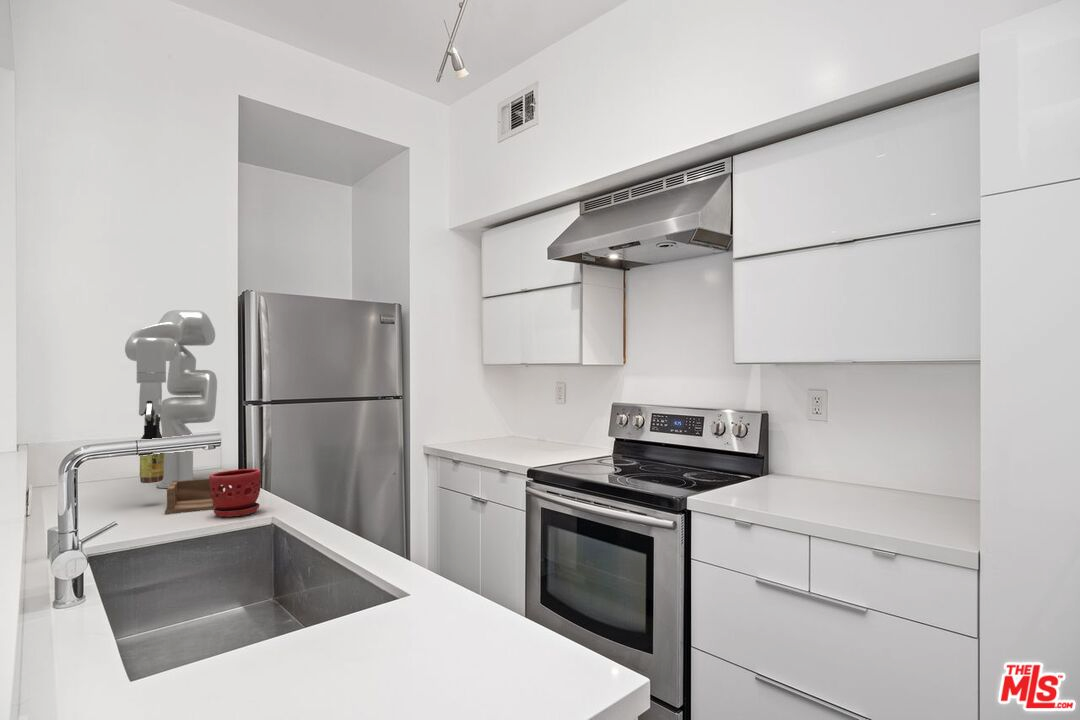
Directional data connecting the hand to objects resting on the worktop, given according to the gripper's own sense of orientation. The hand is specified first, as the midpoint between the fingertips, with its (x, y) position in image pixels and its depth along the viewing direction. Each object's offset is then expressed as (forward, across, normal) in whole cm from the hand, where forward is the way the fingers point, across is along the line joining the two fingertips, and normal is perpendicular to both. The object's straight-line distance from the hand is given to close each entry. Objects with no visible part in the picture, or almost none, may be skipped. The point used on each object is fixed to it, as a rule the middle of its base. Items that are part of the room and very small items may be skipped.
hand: (151, 436), depth 179 cm
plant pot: (+20, +25, +23) cm, 40 cm away
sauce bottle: (+14, 0, 0) cm, 14 cm away
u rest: (+21, +9, +12) cm, 26 cm away
